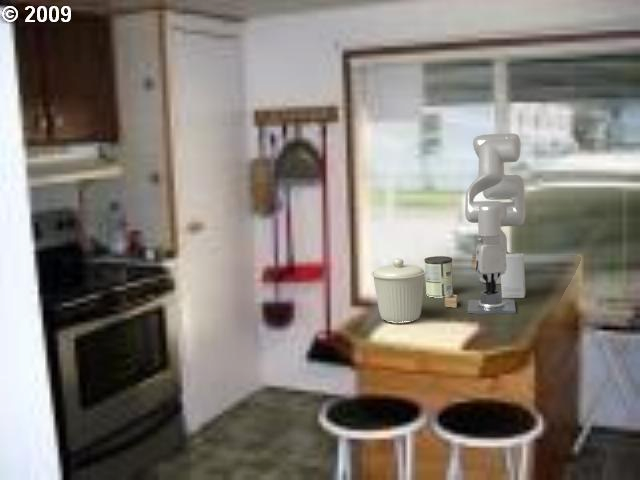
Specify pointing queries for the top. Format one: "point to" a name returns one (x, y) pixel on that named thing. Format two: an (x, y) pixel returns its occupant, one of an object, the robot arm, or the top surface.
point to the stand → (451, 300)
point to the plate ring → (491, 297)
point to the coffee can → (438, 276)
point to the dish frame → (474, 260)
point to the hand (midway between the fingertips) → (491, 292)
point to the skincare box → (513, 277)
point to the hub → (492, 307)
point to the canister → (399, 291)
